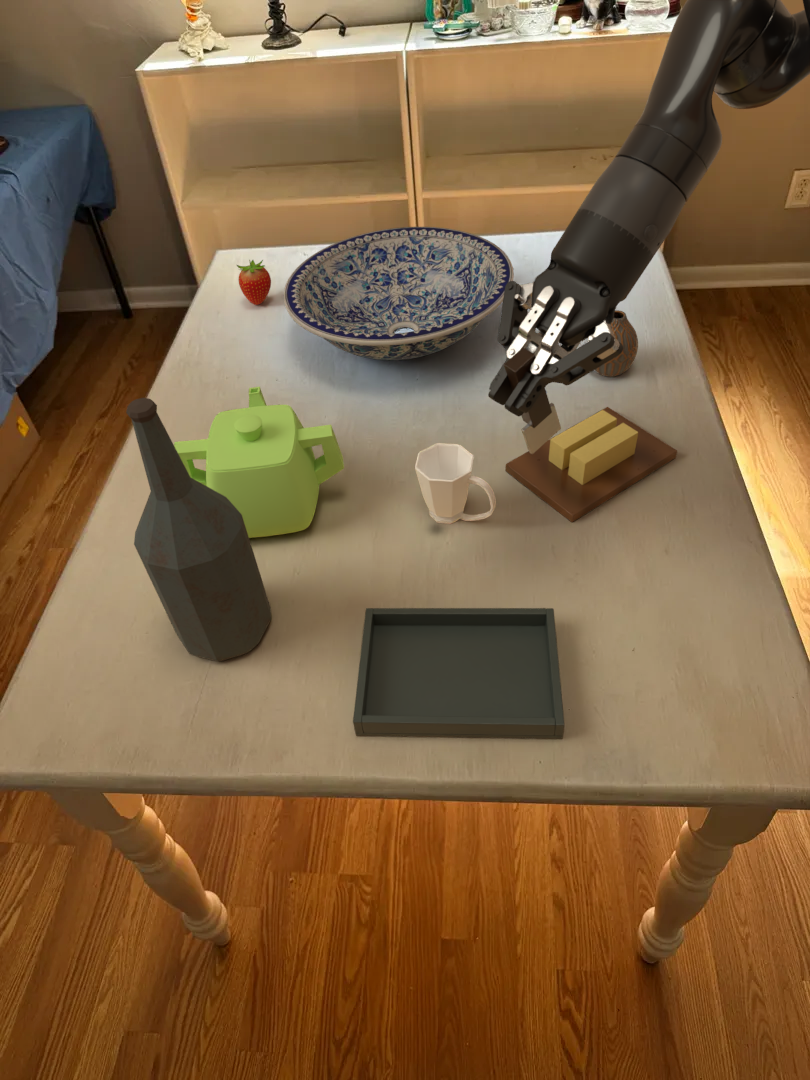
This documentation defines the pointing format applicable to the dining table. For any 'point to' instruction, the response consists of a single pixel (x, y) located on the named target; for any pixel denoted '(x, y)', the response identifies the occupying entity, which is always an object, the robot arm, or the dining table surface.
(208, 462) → the teapot
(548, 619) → the tray
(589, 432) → the butter
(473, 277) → the ceramic bowl
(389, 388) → the dining table surface
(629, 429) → the butter
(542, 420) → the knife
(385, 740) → the dining table surface
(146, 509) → the bottle
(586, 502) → the board
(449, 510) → the cup
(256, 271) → the fruit
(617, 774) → the dining table surface
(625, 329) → the vase
